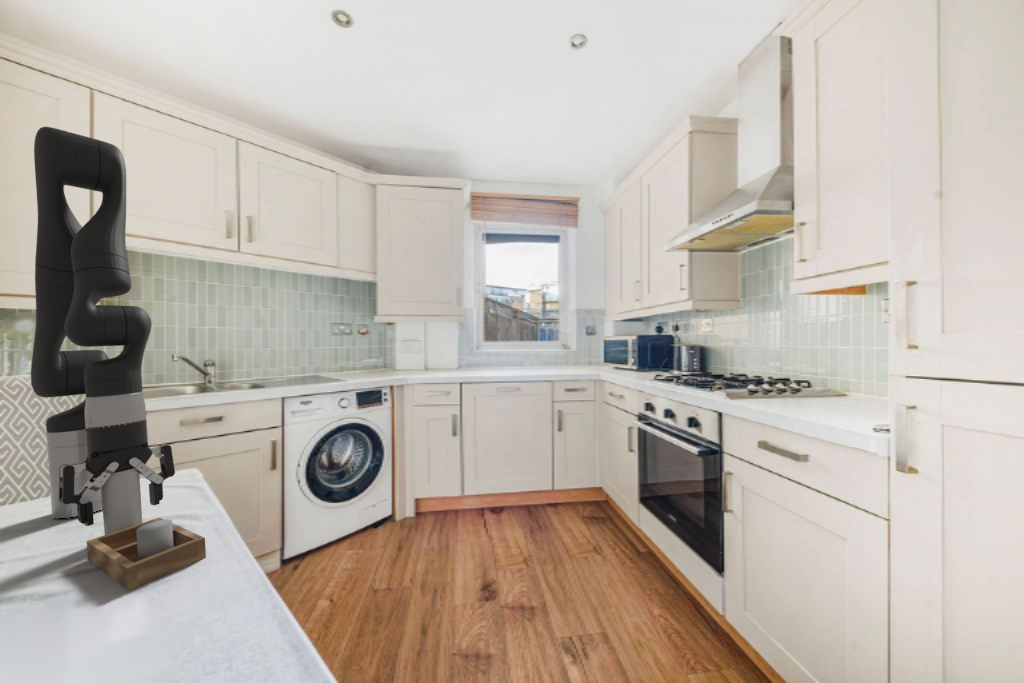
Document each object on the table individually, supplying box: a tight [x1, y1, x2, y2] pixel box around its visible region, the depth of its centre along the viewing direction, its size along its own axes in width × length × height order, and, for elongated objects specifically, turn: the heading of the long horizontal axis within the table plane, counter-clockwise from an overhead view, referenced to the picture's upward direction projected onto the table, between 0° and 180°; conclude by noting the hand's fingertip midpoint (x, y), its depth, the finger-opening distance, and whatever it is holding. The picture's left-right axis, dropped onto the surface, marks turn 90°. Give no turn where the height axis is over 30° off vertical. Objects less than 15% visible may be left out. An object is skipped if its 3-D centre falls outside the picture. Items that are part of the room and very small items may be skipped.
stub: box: [136, 518, 174, 561], centre depth 60 cm, size 4×4×6 cm
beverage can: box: [101, 468, 143, 535], centre depth 70 cm, size 5×5×12 cm
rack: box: [86, 517, 207, 591], centre depth 62 cm, size 17×9×3 cm, turn 59°
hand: (123, 513), depth 70 cm, fingers open, 8 cm apart
